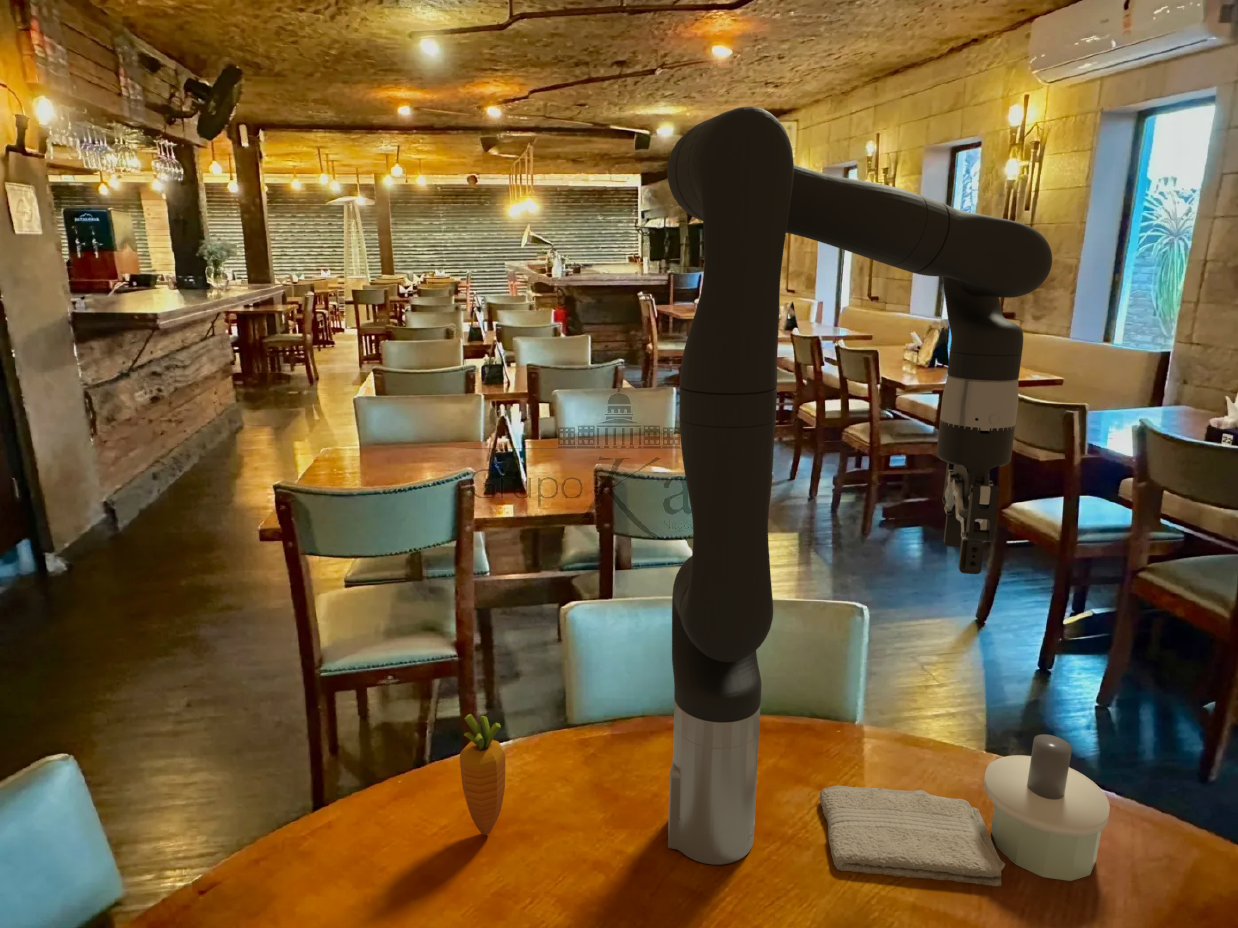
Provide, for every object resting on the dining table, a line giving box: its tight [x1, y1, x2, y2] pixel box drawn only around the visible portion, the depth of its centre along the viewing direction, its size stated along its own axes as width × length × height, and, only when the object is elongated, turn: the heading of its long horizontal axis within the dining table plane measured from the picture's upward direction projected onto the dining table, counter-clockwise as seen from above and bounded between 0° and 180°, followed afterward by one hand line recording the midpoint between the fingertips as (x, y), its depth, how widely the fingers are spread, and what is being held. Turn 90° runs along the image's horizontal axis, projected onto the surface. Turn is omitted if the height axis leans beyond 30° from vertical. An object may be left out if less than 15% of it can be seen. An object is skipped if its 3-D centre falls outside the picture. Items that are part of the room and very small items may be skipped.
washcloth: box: [819, 785, 1006, 887], centre depth 88 cm, size 12×18×3 cm, turn 83°
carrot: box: [459, 713, 506, 836], centre depth 88 cm, size 5×5×15 cm
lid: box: [983, 733, 1111, 837], centre depth 86 cm, size 12×12×7 cm
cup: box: [990, 804, 1102, 882], centre depth 87 cm, size 10×10×6 cm
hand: (961, 558), depth 90 cm, fingers open, 8 cm apart
